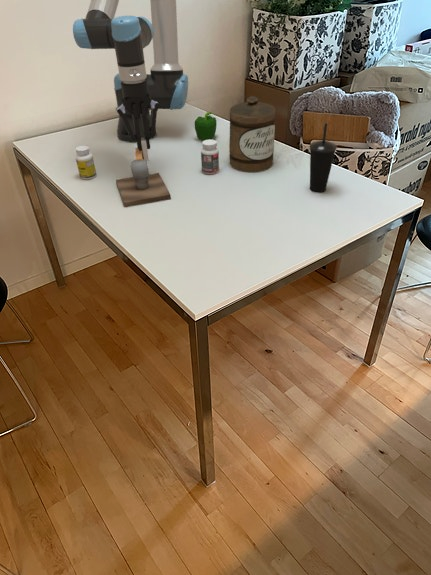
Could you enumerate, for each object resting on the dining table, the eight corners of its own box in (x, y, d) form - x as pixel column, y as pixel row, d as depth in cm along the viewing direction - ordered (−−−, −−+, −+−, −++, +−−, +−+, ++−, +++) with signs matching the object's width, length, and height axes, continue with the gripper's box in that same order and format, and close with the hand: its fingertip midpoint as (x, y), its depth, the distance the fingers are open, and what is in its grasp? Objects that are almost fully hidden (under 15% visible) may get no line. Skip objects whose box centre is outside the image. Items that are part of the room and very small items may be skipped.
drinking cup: (314, 181, 144) (322, 117, 131) (335, 188, 139) (345, 123, 127) (300, 189, 140) (306, 124, 127) (320, 197, 135) (329, 131, 123)
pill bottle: (217, 175, 149) (216, 146, 142) (200, 174, 150) (198, 145, 143) (220, 168, 153) (219, 139, 147) (204, 167, 154) (202, 138, 148)
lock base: (116, 183, 146) (113, 168, 142) (159, 176, 149) (157, 161, 146) (124, 207, 134) (121, 190, 131) (170, 199, 137) (169, 182, 134)
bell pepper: (197, 144, 169) (196, 117, 163) (193, 136, 175) (191, 110, 169) (219, 142, 170) (219, 115, 164) (214, 134, 177) (213, 107, 170)
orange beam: (149, 177, 136) (147, 165, 134) (132, 179, 136) (130, 166, 133) (148, 159, 147) (146, 147, 144) (132, 160, 146) (130, 148, 144)
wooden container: (246, 176, 148) (247, 107, 134) (221, 161, 157) (219, 95, 143) (281, 165, 154) (286, 97, 140) (255, 150, 163) (257, 86, 149)
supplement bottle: (76, 176, 151) (70, 148, 144) (90, 171, 154) (84, 143, 147) (86, 181, 148) (79, 152, 141) (100, 175, 151) (94, 147, 144)
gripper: (113, 86, 124) (127, 168, 139) (159, 80, 127) (168, 160, 142) (108, 80, 129) (123, 158, 144) (152, 73, 133) (162, 151, 148)
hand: (145, 159), depth 143 cm, fingers closed
